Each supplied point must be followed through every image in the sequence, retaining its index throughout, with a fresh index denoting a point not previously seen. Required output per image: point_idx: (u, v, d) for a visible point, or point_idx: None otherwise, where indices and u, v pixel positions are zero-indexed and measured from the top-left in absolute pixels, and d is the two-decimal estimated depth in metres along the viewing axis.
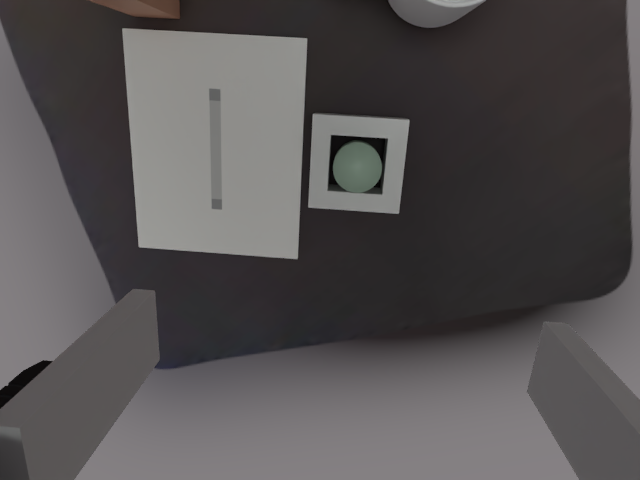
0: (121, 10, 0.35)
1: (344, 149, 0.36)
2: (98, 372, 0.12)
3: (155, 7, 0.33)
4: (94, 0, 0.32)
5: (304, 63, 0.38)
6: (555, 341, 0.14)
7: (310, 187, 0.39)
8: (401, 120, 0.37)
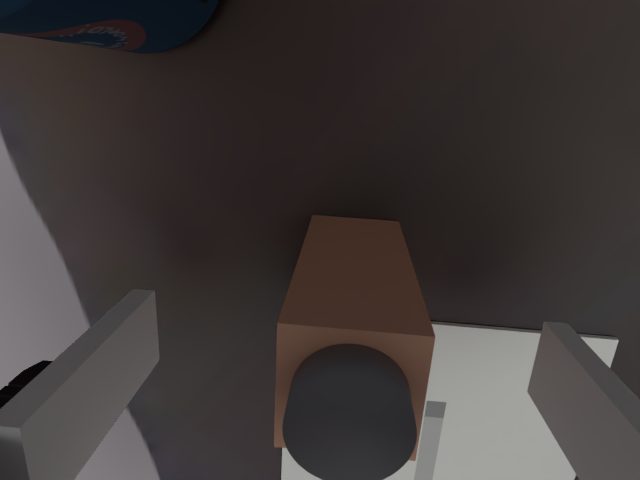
0: None
1: None
2: (98, 372, 0.12)
3: None
4: None
5: None
6: (555, 341, 0.14)
7: None
8: None
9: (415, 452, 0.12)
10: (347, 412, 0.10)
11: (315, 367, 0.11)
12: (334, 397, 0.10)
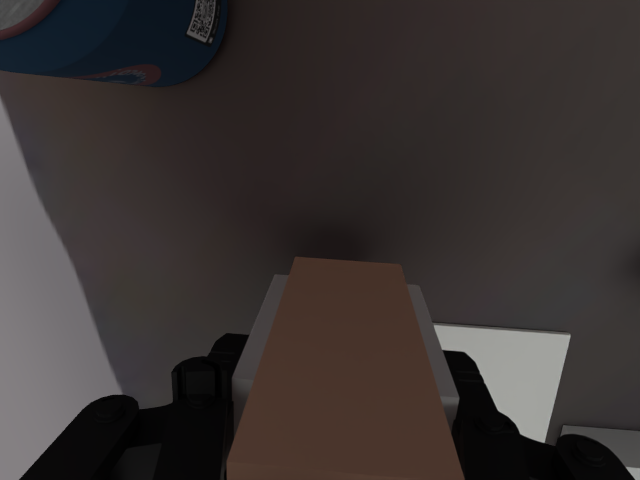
0: None
1: None
2: None
3: None
4: None
5: (560, 366, 0.25)
6: None
7: None
8: None
9: None
10: None
11: None
12: None
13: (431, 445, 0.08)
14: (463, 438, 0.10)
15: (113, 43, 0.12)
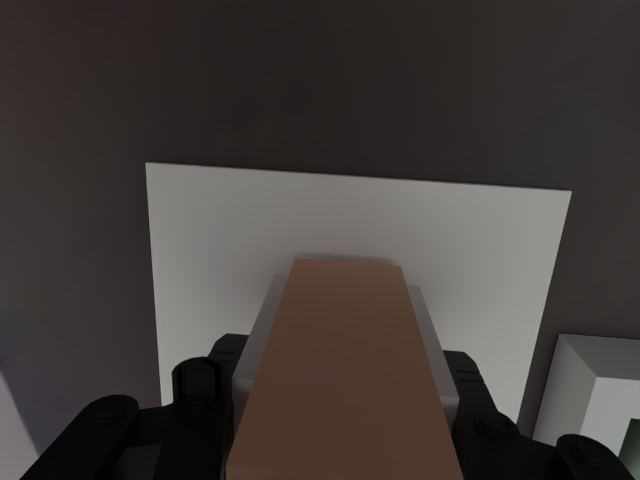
0: None
1: None
2: None
3: None
4: None
5: (555, 242, 0.17)
6: None
7: None
8: None
9: None
10: None
11: None
12: None
13: (431, 449, 0.08)
14: (463, 438, 0.10)
15: None
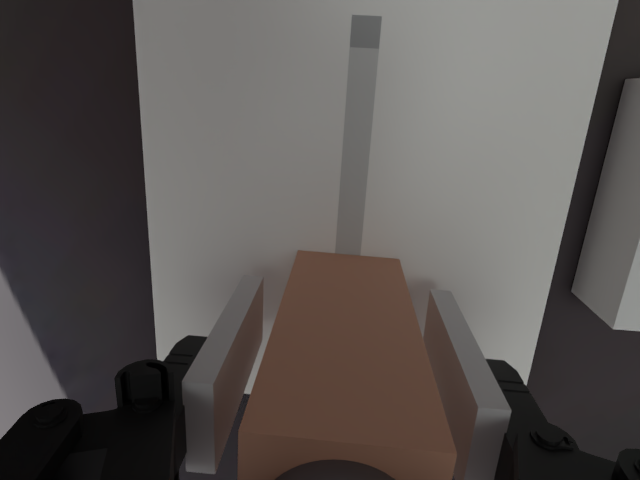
0: None
1: None
2: (240, 344, 0.13)
3: None
4: None
5: None
6: (434, 305, 0.16)
7: (631, 279, 0.14)
8: None
9: None
10: None
11: None
12: None
13: (426, 420, 0.09)
14: (517, 450, 0.09)
15: None
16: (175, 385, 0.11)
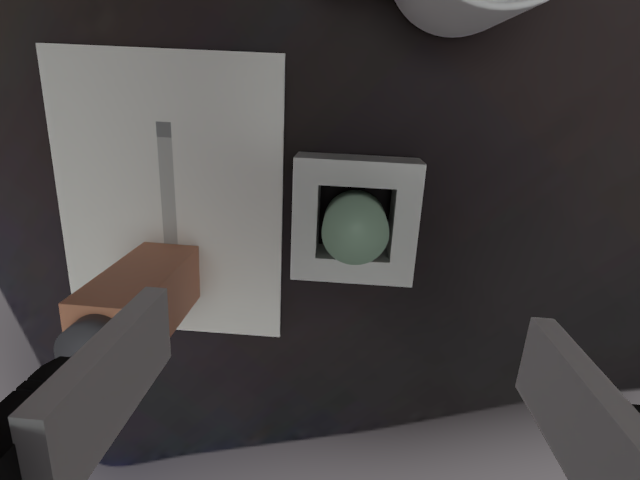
0: None
1: (337, 208, 0.26)
2: (114, 367, 0.12)
3: (174, 329, 0.29)
4: None
5: (282, 87, 0.28)
6: (541, 336, 0.14)
7: (292, 253, 0.29)
8: (415, 165, 0.27)
9: None
10: (82, 345, 0.22)
11: (72, 324, 0.22)
12: (75, 337, 0.22)
13: None
14: None
15: None
16: None
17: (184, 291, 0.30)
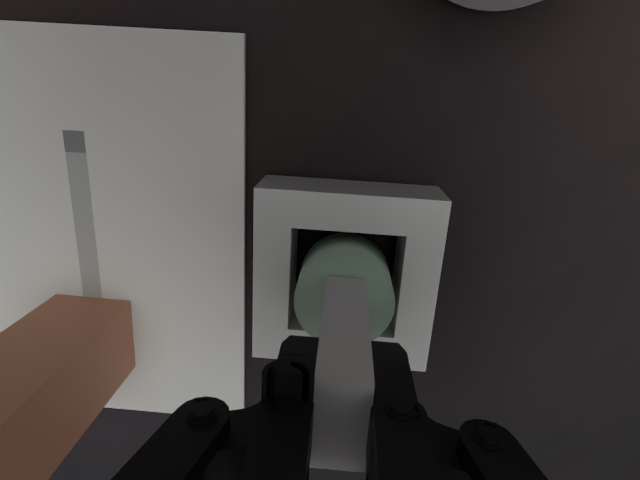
0: None
1: (316, 266, 0.17)
2: None
3: (82, 432, 0.20)
4: None
5: (241, 83, 0.20)
6: None
7: (255, 322, 0.20)
8: (434, 202, 0.18)
9: None
10: None
11: None
12: None
13: None
14: (375, 427, 0.10)
15: None
16: None
17: (103, 371, 0.21)
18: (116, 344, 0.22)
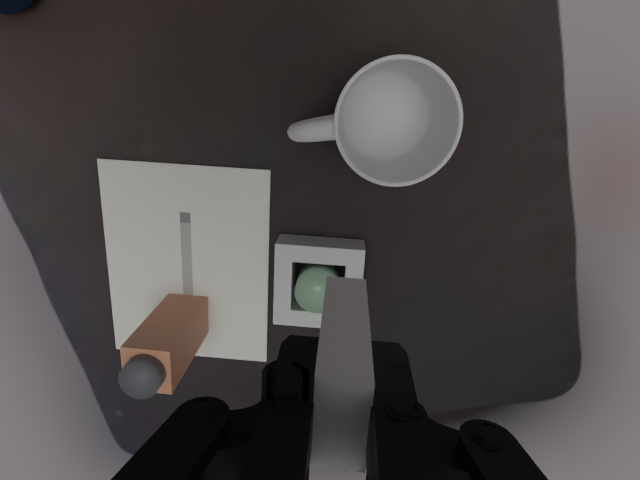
0: None
1: (304, 276, 0.39)
2: None
3: (191, 359, 0.41)
4: None
5: (268, 192, 0.41)
6: None
7: (274, 306, 0.41)
8: (357, 250, 0.39)
9: (170, 391, 0.36)
10: (137, 374, 0.34)
11: (129, 361, 0.35)
12: (132, 370, 0.34)
13: (168, 345, 0.36)
14: (375, 427, 0.10)
15: None
16: None
17: (198, 331, 0.42)
18: (203, 318, 0.43)
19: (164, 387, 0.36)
